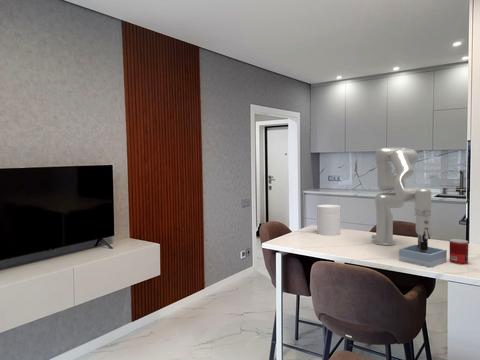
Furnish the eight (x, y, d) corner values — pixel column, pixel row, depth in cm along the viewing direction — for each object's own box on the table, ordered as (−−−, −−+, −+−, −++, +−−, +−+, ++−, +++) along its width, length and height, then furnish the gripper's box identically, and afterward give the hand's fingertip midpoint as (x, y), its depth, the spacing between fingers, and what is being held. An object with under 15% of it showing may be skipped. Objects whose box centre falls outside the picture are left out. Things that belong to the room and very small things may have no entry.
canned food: (469, 264, 175) (469, 242, 175) (450, 263, 178) (451, 241, 178) (466, 260, 182) (466, 239, 182) (448, 259, 185) (448, 238, 185)
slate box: (399, 260, 185) (399, 248, 185) (415, 255, 194) (415, 244, 194) (430, 267, 172) (430, 255, 172) (446, 261, 181) (446, 250, 181)
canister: (313, 234, 256) (313, 206, 255) (323, 230, 269) (322, 204, 268) (335, 236, 246) (334, 207, 245) (343, 232, 259) (343, 205, 258)
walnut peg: (417, 251, 183) (417, 232, 183) (421, 250, 185) (421, 231, 185) (424, 253, 180) (424, 233, 180) (427, 252, 182) (427, 232, 182)
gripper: (436, 215, 173) (436, 253, 174) (425, 211, 189) (425, 245, 190) (420, 215, 174) (420, 252, 175) (410, 211, 191) (410, 245, 191)
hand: (422, 248), depth 183 cm, fingers closed on walnut peg, 3 cm apart
